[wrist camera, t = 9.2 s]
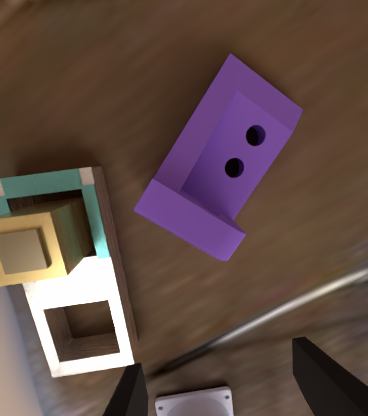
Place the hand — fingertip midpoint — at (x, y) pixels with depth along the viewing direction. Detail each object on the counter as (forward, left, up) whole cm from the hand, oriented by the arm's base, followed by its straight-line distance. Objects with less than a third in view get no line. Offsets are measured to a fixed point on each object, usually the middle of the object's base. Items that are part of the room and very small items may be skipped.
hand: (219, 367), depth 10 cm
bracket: (+10, -3, -10) cm, 15 cm away
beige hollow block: (+6, +10, -10) cm, 15 cm away
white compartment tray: (+2, +10, -10) cm, 14 cm away
